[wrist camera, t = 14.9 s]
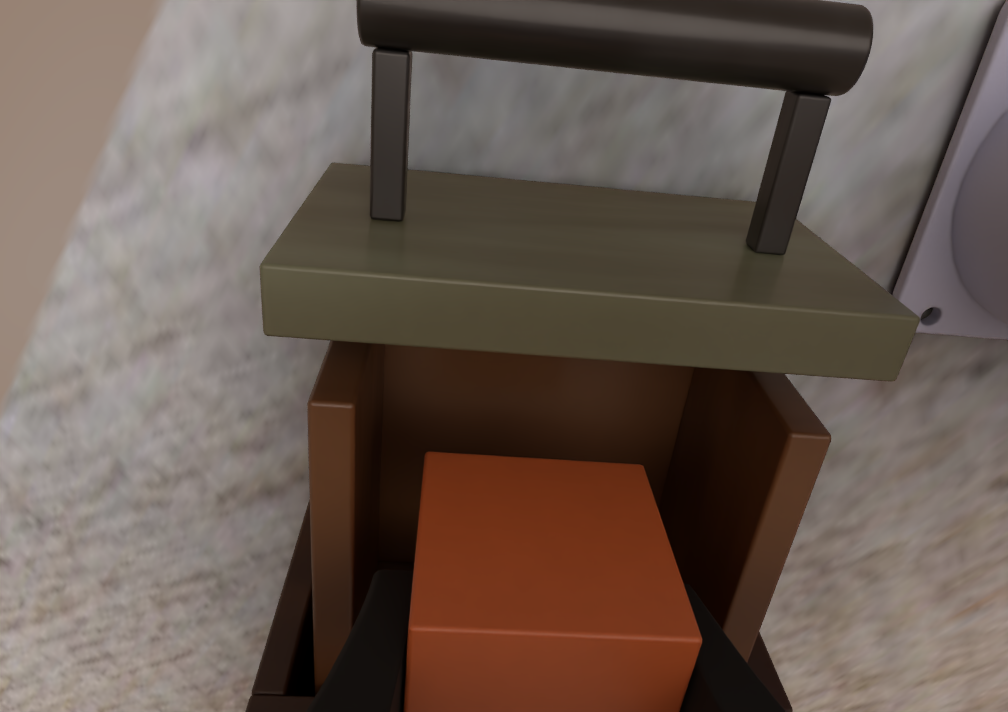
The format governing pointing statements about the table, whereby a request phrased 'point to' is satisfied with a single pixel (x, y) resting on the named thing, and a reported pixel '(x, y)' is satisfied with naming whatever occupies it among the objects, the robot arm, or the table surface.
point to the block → (544, 590)
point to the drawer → (580, 302)
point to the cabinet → (291, 646)
